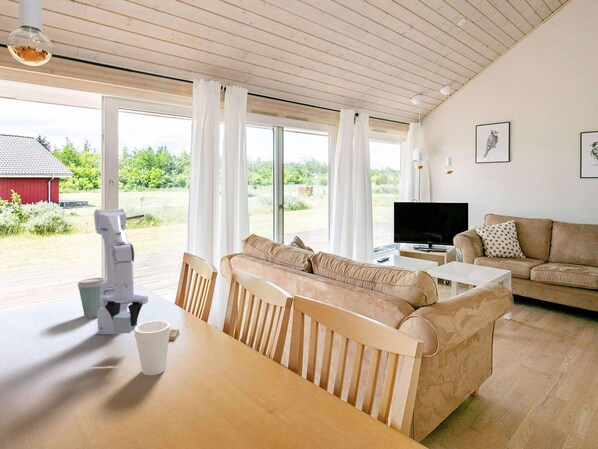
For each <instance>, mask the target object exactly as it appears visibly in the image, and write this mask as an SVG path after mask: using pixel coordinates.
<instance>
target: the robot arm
mask: <svg viewBox="0 0 598 449" xmlns="http://www.w3.org/2000/svg"><path fill="white" fill-rule="evenodd" d="M93 217H94V218H93V220H94V226H95V231H96V234H97V235H101V236H102V237H101V238H102V239H103V244H104V253H105V254H104V256H105V266H106V277H107V278H106V280H107V281H106V282H105V283H104V284H102V285H101V287H100V304H101V308H100V309H99V311H98V315H97V317H96V318H97V332H96V334H97V335H124V334H125V333H114V328H113V317H114V316H116V315H117V314H119V313H120V312H130V316H131V326H135V325H136V324H137V325H138V318H139V314H140V312H141V309H142V307H143V306H144V305H146V304H148V303H149V296H146V295H139V294H135V286H134V284H135V283H134V268H133V267H134V262H135V249H134V245H133V243H131V242H130V241H129V238H128V235H127V233H126V232H125V228H126V224H127V212H126V210H125V209H124V208H114V209H113V208H112V209H95V210H94V213H93ZM105 289H106V290H105Z"/></svg>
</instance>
